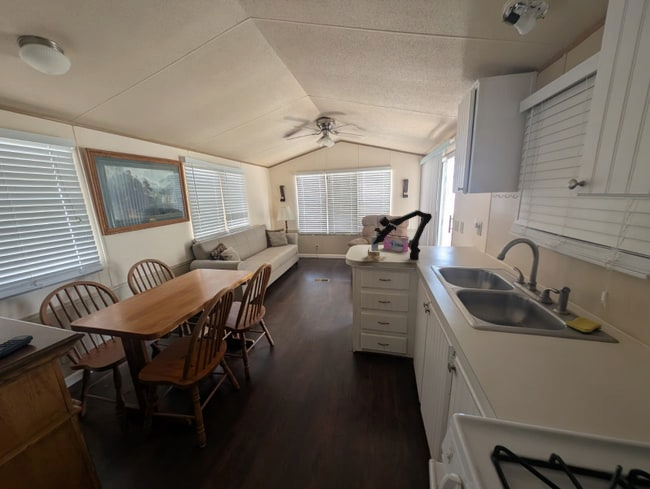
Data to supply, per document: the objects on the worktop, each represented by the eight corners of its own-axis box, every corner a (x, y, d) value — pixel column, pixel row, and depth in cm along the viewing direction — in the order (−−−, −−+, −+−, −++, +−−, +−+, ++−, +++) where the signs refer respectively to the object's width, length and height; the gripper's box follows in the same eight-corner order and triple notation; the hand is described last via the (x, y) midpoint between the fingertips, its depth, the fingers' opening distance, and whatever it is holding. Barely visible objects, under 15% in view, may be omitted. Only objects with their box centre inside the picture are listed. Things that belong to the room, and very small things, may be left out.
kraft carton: (386, 257, 211) (386, 248, 209) (387, 261, 196) (387, 252, 195) (368, 256, 214) (368, 247, 212) (367, 261, 200) (367, 251, 198)
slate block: (378, 249, 206) (378, 235, 204) (378, 251, 201) (378, 237, 198) (371, 249, 207) (371, 235, 205) (371, 251, 202) (371, 237, 200)
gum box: (382, 248, 243) (382, 234, 240) (386, 246, 249) (386, 233, 246) (404, 252, 226) (404, 237, 223) (408, 250, 231) (409, 236, 229)
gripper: (380, 222, 207) (367, 234, 212) (380, 225, 190) (365, 238, 194) (389, 231, 207) (376, 243, 212) (390, 235, 189) (375, 248, 194)
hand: (373, 243), depth 203 cm, fingers closed on slate block, 5 cm apart
